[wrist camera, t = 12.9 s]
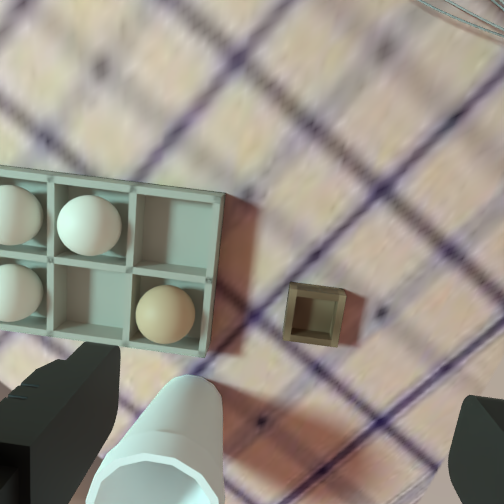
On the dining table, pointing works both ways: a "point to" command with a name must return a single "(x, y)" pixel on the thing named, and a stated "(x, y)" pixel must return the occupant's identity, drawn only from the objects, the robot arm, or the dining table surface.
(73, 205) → the cream egg
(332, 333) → the egg stand
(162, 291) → the beige sphere
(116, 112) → the dining table surface
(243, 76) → the dining table surface
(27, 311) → the cream egg
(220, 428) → the foam cup
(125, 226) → the egg carton
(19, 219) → the cream egg
